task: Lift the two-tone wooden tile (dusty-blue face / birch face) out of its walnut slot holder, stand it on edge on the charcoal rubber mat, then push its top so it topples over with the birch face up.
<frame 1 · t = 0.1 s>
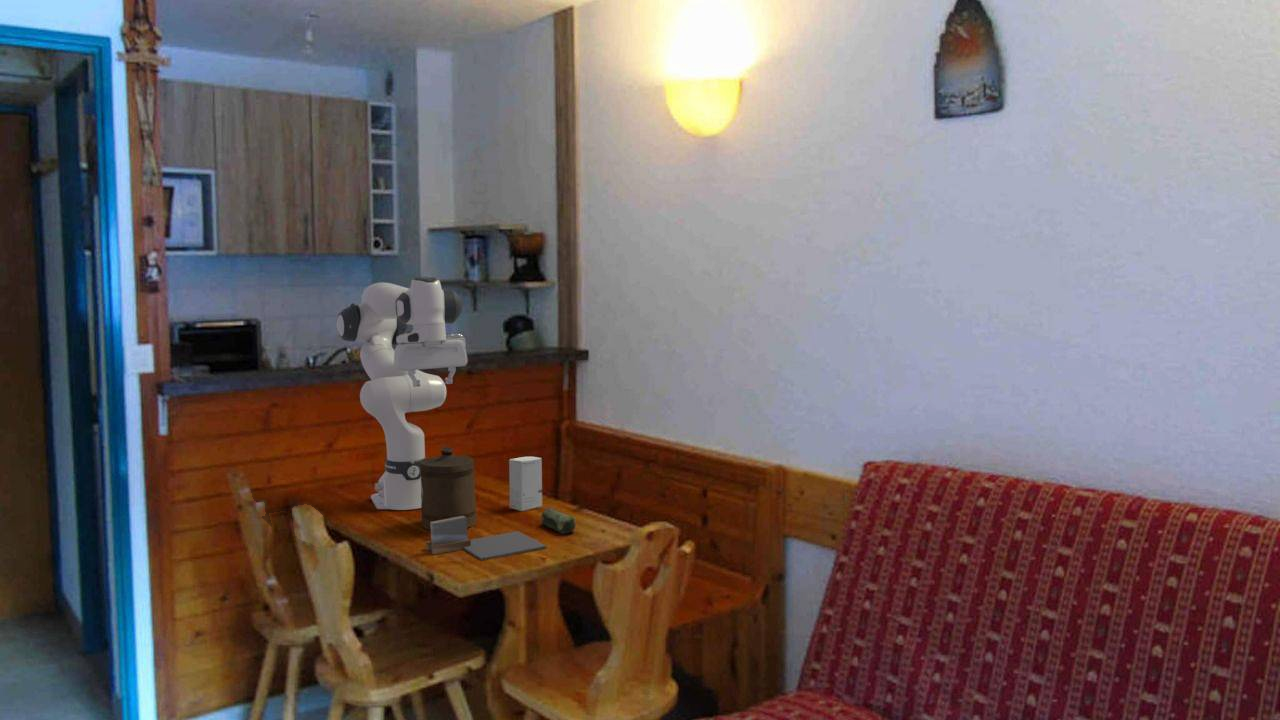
hand: (433, 385, 276), 39 cm above the table, tool pointing down, fingers open, 8 cm apart
mat: (500, 546, 258), on the table
wooden container: (449, 525, 279), on the table
holder: (448, 548, 257), on the table
skincare box: (526, 508, 296), on the table
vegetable: (557, 530, 274), on the table
tile: (449, 546, 257), point 1 cm above the table, touching mat
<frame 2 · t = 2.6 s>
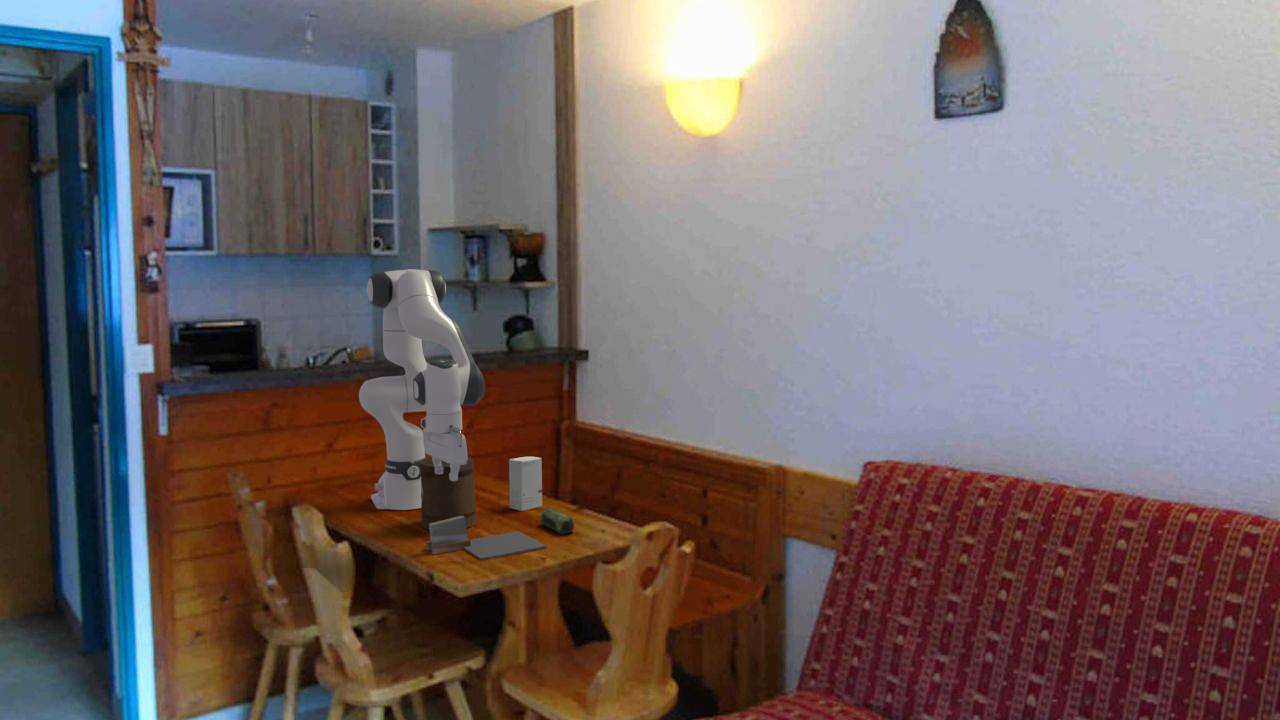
hand: (446, 477, 254), 19 cm above the table, tool pointing down, fingers open, 8 cm apart
tile: (450, 546, 257), on the table, touching mat
everything else where it was.
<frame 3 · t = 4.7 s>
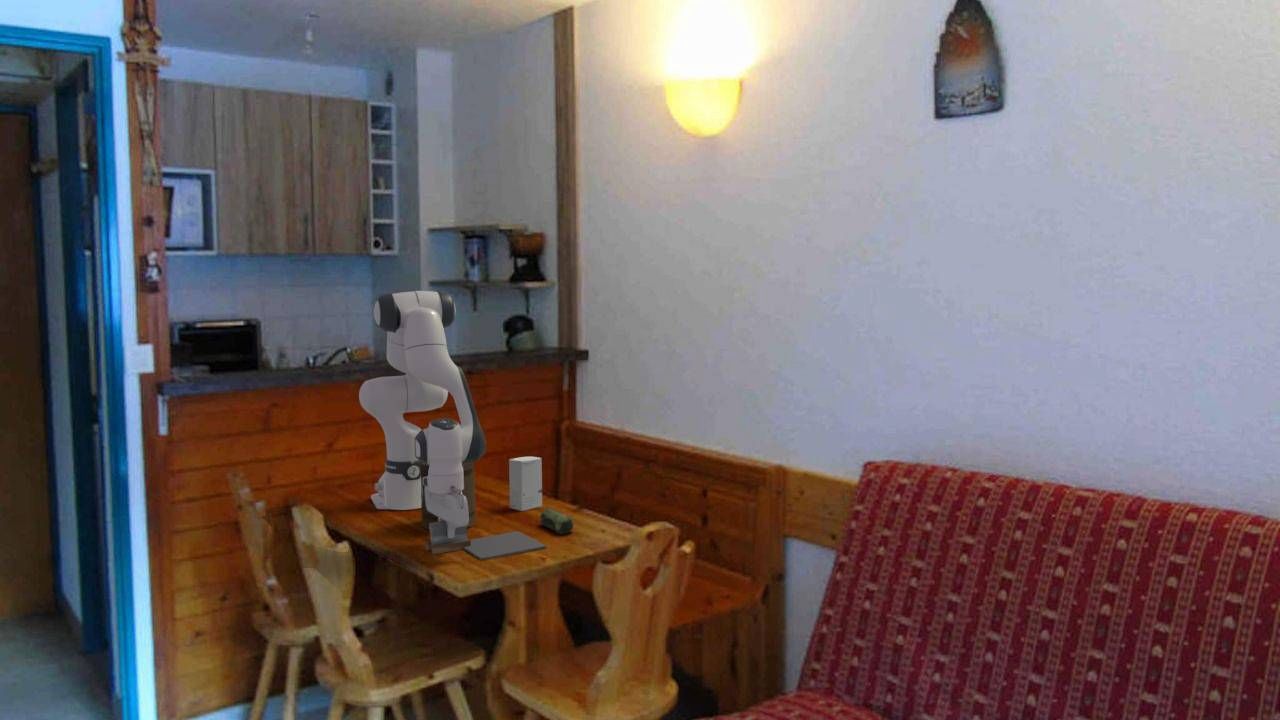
hand: (447, 535, 256), 3 cm above the table, tool pointing down, fingers closed on tile, 2 cm apart
tile: (450, 546, 257), on the table, touching gripper, mat
everything else where it was.
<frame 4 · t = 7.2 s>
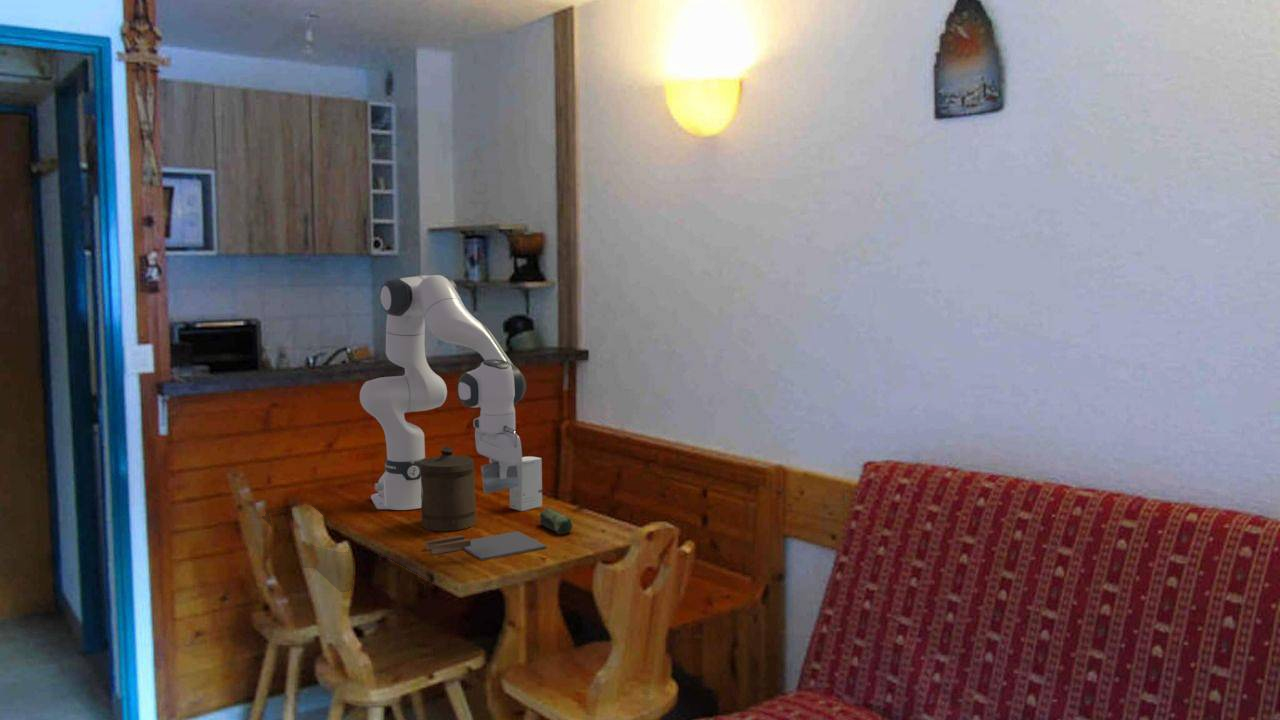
hand: (499, 477, 256), 18 cm above the table, tool pointing down, fingers closed on tile
tile: (501, 489, 257), point 15 cm above the table, touching gripper
everything else where it was.
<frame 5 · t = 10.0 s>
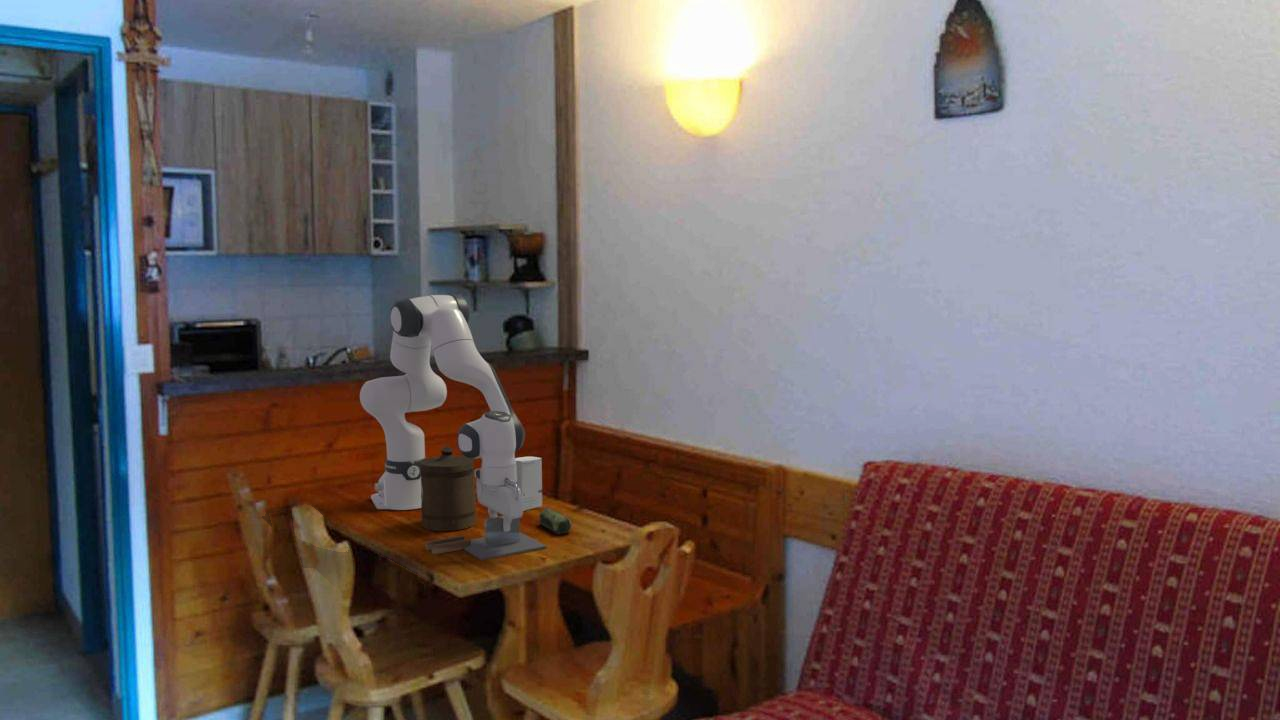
hand: (500, 527, 258), 5 cm above the table, tool pointing down, fingers open, 5 cm apart
tile: (502, 543, 258), point 1 cm above the table, touching mat
everything else where it was.
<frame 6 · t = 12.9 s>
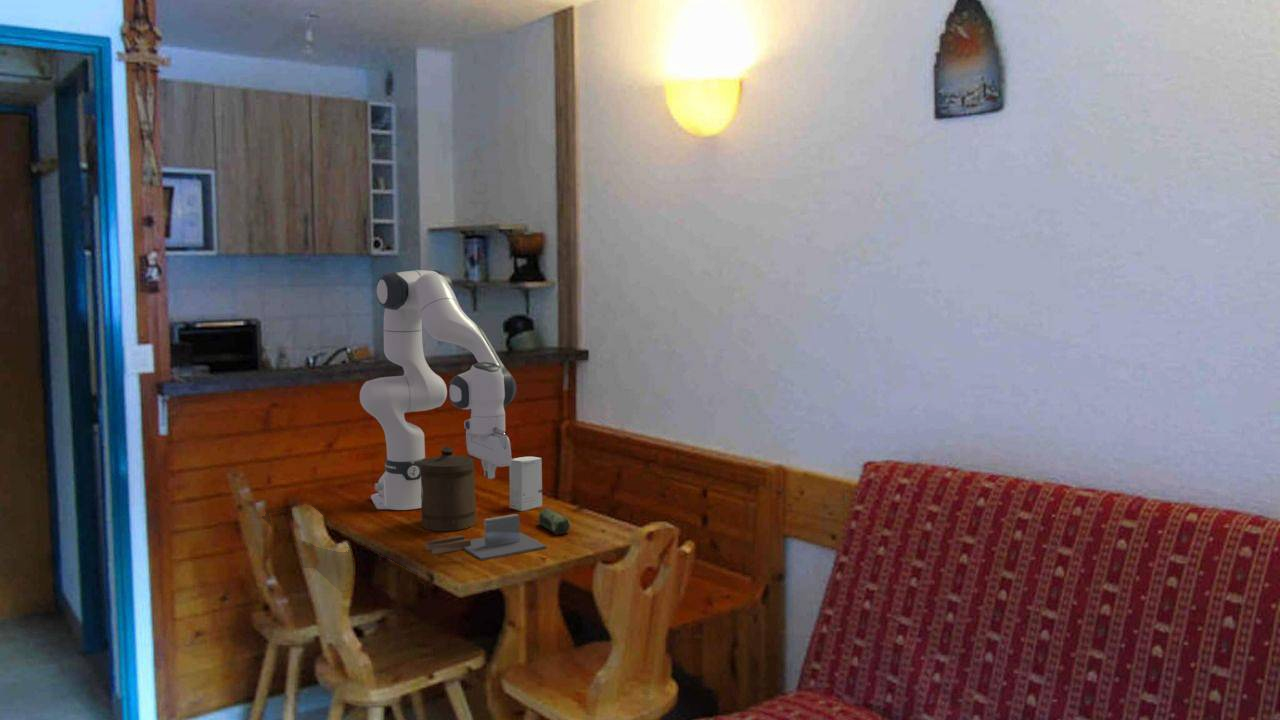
hand: (489, 477, 261), 17 cm above the table, tool pointing down, fingers closed
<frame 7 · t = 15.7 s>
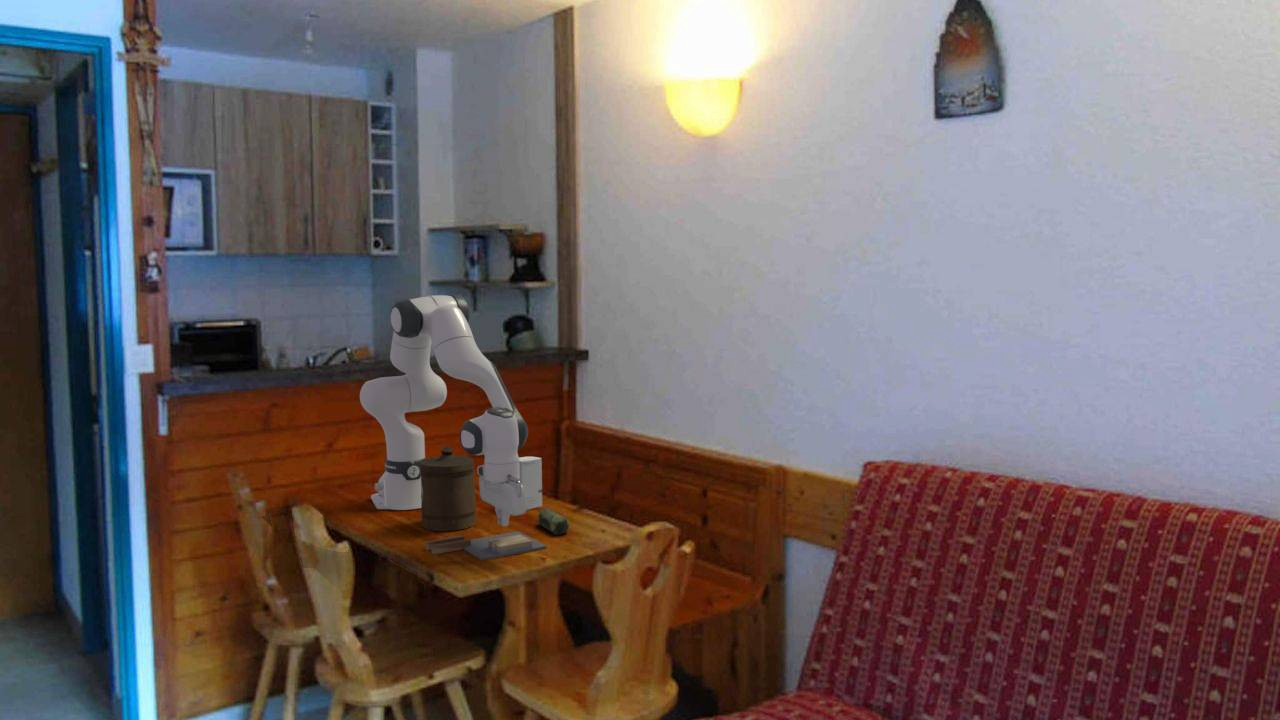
hand: (503, 524, 256), 6 cm above the table, tool pointing down, fingers closed
tile: (504, 540, 257), point 2 cm above the table, tilted 90°, touching mat
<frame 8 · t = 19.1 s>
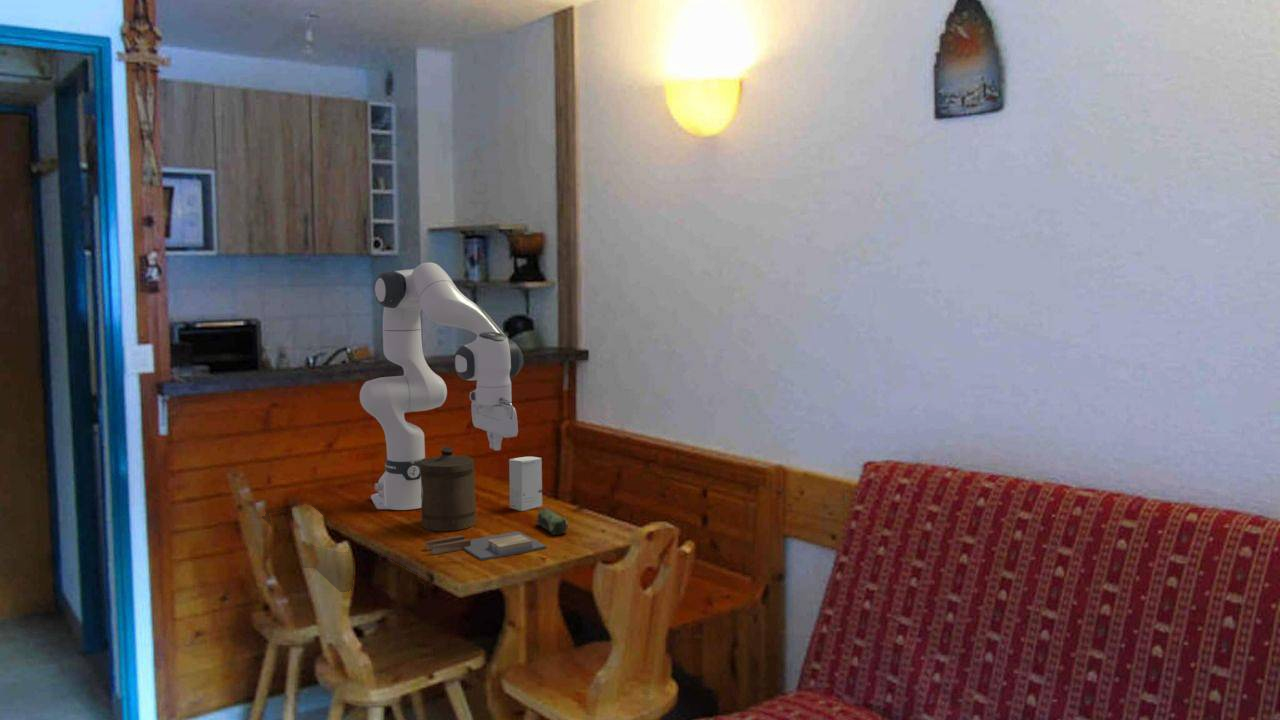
hand: (495, 449, 257), 25 cm above the table, tool pointing down, fingers closed
at the end: tile tilted 90°; tile inside the target area (1.1 cm from its centre), point 1.6 cm above the table; the gripper is holding nothing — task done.
